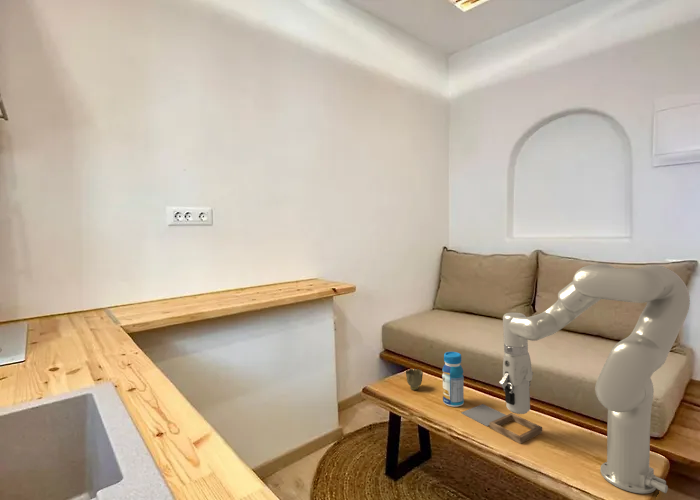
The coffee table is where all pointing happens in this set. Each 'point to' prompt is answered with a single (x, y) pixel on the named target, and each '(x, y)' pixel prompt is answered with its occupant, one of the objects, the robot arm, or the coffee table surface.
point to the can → (520, 398)
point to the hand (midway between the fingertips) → (517, 400)
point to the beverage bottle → (453, 380)
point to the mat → (483, 414)
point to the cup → (414, 378)
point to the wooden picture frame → (520, 439)
